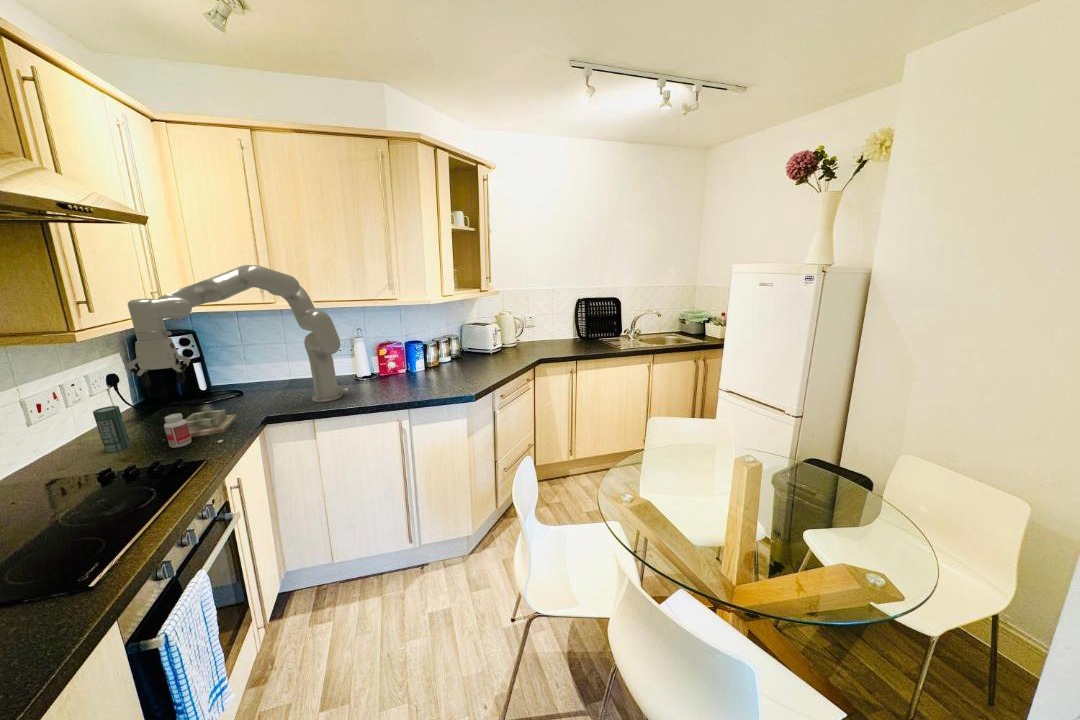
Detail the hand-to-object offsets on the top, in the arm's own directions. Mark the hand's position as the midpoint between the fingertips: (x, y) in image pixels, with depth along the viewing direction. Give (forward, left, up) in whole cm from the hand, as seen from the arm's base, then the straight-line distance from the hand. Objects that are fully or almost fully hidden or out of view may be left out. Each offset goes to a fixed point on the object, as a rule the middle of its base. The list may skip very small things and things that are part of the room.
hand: (164, 384), depth 142 cm
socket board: (-3, -14, -23) cm, 27 cm away
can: (+20, -5, -23) cm, 31 cm away
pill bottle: (0, 0, -23) cm, 23 cm away
